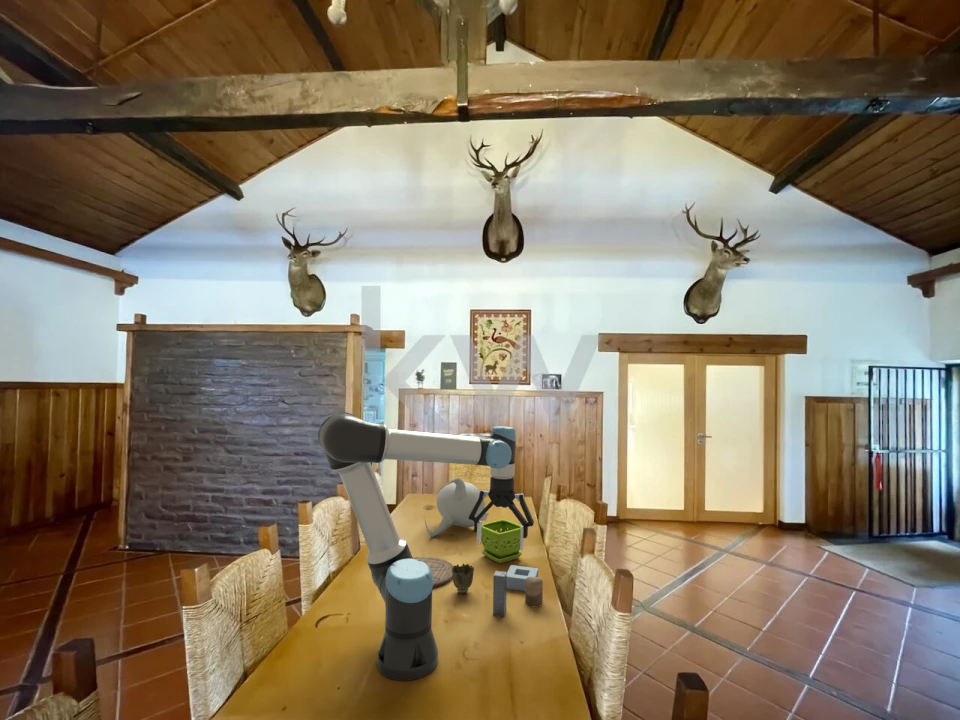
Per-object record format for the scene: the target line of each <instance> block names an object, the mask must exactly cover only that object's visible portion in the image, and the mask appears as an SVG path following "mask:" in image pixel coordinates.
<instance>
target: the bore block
mask: <svg viewBox="0 0 960 720" xmlns="http://www.w3.org/2000/svg"><path fill="white" fill-rule="evenodd" d="M506 572H507V589H508V590H515V591H522V592H523V591H524V592H525V580H526V578H528V577H538V578H539V568H537V567H529V566H523V565H522V566H521V565H515V564H511V565H510V566H509V568H508V570H507V571H506Z"/></svg>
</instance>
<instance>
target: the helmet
mask: <svg viewBox="0 0 960 720" xmlns="http://www.w3.org/2000/svg"><path fill="white" fill-rule="evenodd" d="M480 491H481V490H480V489H479V488H478V487H477V486H476V485H474V484H473V483H471V482H468V481H464V480H463V479H462V478H461V477H454V479H451V480H450V481H449V482H447V483H445V484H444V485H443V486H442V487H440V488H439V490H438V491H437V492H435V493H434V494H433V496H435V495H436V494H437V496H436V507H437V511H438V512H439V514H440V516H441V517H442V519H441V521H440V523H439V524H438V526H437V527H436V528H435V529H434V530H432V531H431V530H429V528H428V526H427V521H426V519H424V524H425V528H426V530H427V531H426V532H427V534H428V535H429V537H430V538H434V537H436V536H439V535H440V534H442V533H443V532H445V531H447V530H448V529H449V528H450V527H451V526H457V527H461V528H467V529H468V528H474V521H473V520H470V519H469V516H470V514H471V512H472V510H473V508H474V506H475V504H476V502H477V501H478V499H479V494H480ZM484 499H485V498H484ZM484 499H483V501H482V503H481V505H480V507H479V508H478V510H477V512H476V514H475V516H478V515H479V514H480V513H481V512H482V510H483V509H484V508H485V507H486V504H485V500H484ZM425 515H426V514H424V515H423V516H424V517H423V518H426V516H425ZM488 516H489V512H486V513H485V514H484V515H483V516H482V517H481V518H480V520H479V521H482V522H484V521H486V520H487V518H488Z"/></svg>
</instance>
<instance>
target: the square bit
mask: <svg viewBox="0 0 960 720" xmlns="http://www.w3.org/2000/svg"><path fill="white" fill-rule="evenodd" d="M507 572H508V571H501V570H500V571H499V570H495V572H494V574H493V578H492V579H493V582H492V583H493V588H492V589H493V592H492V593H493V594H492V595H493V596H492V601H493V602H492V616H495V617H501V618H505V616H506V613H507V593H508V592H507Z"/></svg>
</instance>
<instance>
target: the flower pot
mask: <svg viewBox="0 0 960 720" xmlns="http://www.w3.org/2000/svg"><path fill="white" fill-rule="evenodd" d="M521 526H522V524H519V523H516V522H514V521H512V520H508V519H502V518H501V519H498V520H494V521H490V522H486V523H482V530H481V545H482V546H483V548H484V549H482V550H481V553H482V554H483V555H484V557H487V558H488V559H490V560H491V561H494V562H495V563H497V564H498V565H500V564H502V563H507V562H509V561H513V560H516V559H518V558H520V557H521V556H522V555H523V553H522V552H520V536H521Z"/></svg>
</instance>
